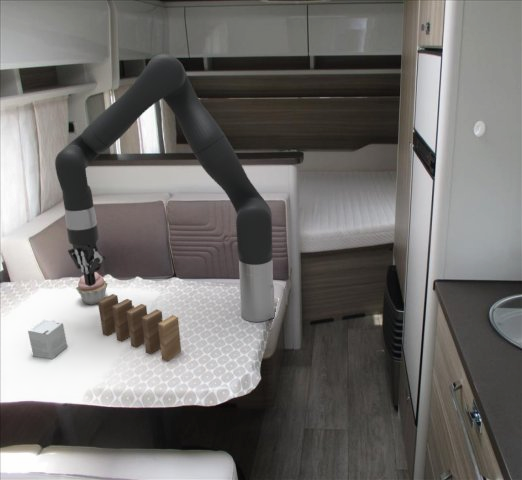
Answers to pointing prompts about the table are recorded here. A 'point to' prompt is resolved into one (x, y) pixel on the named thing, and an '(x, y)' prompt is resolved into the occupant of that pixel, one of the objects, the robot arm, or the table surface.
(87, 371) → the table surface
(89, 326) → the table surface
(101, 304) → the domino
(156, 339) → the domino
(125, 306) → the domino
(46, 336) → the skincare box
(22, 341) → the table surface
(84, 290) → the cupcake
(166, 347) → the domino
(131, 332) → the domino
